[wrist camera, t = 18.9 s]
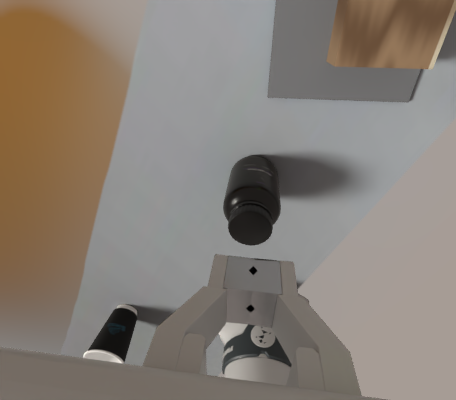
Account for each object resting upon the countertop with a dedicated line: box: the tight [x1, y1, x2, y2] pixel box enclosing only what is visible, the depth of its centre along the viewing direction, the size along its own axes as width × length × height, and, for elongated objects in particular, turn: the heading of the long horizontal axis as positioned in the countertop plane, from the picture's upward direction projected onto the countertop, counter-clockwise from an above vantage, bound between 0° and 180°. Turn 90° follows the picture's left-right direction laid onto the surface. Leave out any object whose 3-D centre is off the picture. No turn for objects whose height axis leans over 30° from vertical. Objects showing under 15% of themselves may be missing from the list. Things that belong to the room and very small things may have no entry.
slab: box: [326, 0, 456, 69], centre depth 25 cm, size 8×4×9 cm
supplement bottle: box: [223, 156, 281, 245], centre depth 34 cm, size 7×7×12 cm
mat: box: [268, 0, 421, 102], centre depth 27 cm, size 16×16×1 cm
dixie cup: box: [83, 304, 137, 364], centre depth 56 cm, size 8×8×11 cm
